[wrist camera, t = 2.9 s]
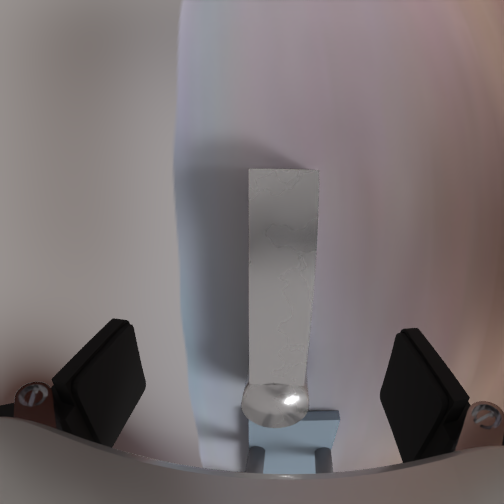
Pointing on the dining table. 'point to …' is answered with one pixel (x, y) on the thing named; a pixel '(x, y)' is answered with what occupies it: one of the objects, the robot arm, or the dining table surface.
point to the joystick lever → (280, 293)
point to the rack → (294, 446)
